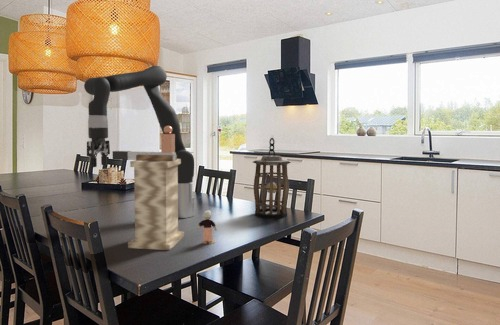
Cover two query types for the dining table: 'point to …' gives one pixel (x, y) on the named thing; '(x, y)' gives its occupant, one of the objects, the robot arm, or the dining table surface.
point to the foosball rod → (166, 149)
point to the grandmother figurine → (207, 228)
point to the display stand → (156, 202)
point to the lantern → (271, 186)
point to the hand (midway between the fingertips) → (99, 166)
